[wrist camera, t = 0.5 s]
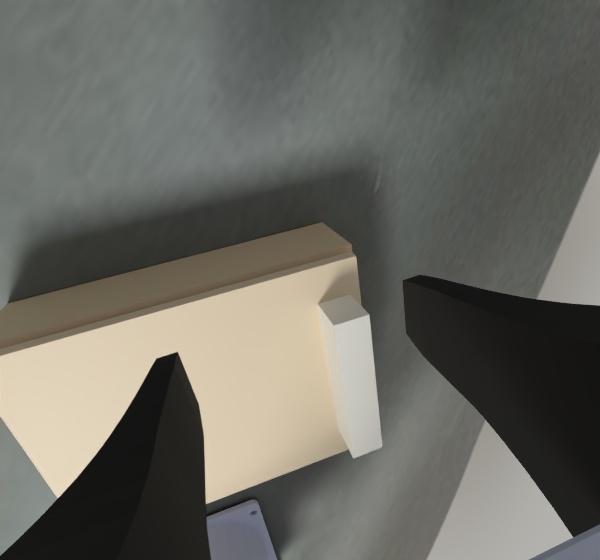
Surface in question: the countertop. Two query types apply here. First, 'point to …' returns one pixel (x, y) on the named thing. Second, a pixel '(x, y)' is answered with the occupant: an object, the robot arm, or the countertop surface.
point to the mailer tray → (165, 283)
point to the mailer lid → (211, 377)
